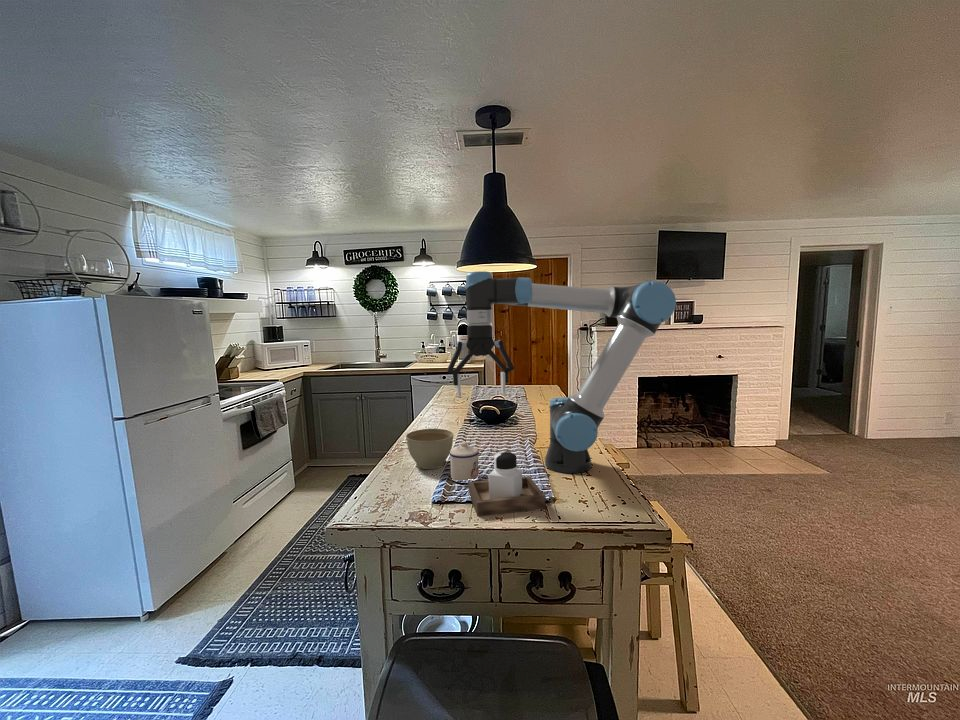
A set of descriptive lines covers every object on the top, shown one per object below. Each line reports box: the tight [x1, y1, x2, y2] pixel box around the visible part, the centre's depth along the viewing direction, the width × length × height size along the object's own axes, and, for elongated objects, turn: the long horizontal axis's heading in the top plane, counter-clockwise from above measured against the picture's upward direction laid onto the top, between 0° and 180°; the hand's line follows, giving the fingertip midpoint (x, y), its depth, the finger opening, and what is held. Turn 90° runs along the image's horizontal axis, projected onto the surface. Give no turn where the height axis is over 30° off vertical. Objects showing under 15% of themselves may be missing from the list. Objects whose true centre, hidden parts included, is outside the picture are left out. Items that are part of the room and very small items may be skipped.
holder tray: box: [468, 476, 546, 517], centre depth 115 cm, size 18×14×4 cm
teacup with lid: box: [449, 441, 479, 480], centre depth 132 cm, size 12×9×12 cm
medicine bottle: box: [488, 451, 523, 499], centre depth 114 cm, size 7×7×12 cm
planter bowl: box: [405, 428, 454, 470], centre depth 144 cm, size 16×16×11 cm
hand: (481, 395), depth 127 cm, fingers open, 13 cm apart
